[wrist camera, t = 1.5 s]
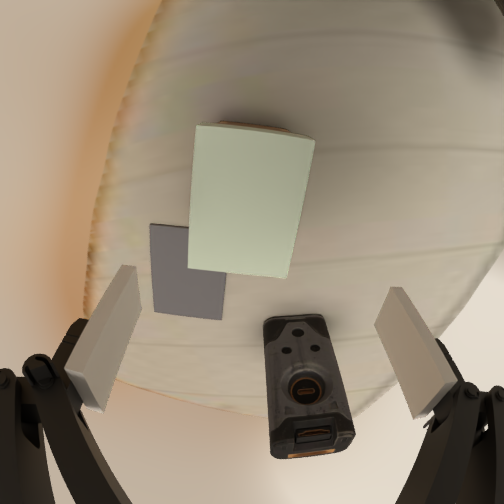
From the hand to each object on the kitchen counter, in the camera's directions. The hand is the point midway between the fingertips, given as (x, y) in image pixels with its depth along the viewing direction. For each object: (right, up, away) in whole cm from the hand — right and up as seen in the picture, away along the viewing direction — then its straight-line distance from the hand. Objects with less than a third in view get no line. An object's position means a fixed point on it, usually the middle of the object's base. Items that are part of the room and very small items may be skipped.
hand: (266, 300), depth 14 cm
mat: (-9, -1, +24) cm, 26 cm away
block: (-1, +7, +12) cm, 14 cm away
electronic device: (+6, -9, +29) cm, 31 cm away
